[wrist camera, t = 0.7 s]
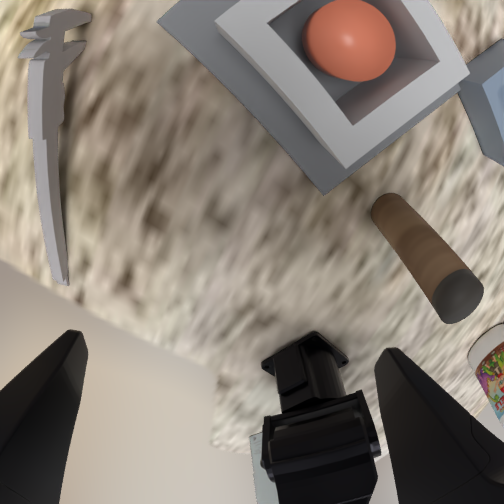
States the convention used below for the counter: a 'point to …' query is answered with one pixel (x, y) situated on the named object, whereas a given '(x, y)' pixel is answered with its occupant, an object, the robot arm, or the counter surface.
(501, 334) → the milk bottle
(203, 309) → the counter surface
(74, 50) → the caliper
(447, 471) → the robot arm
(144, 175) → the counter surface
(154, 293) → the counter surface
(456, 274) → the brown wooden cylinder
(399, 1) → the grey square holder
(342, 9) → the button
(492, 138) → the blue square tray
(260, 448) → the skincare box
